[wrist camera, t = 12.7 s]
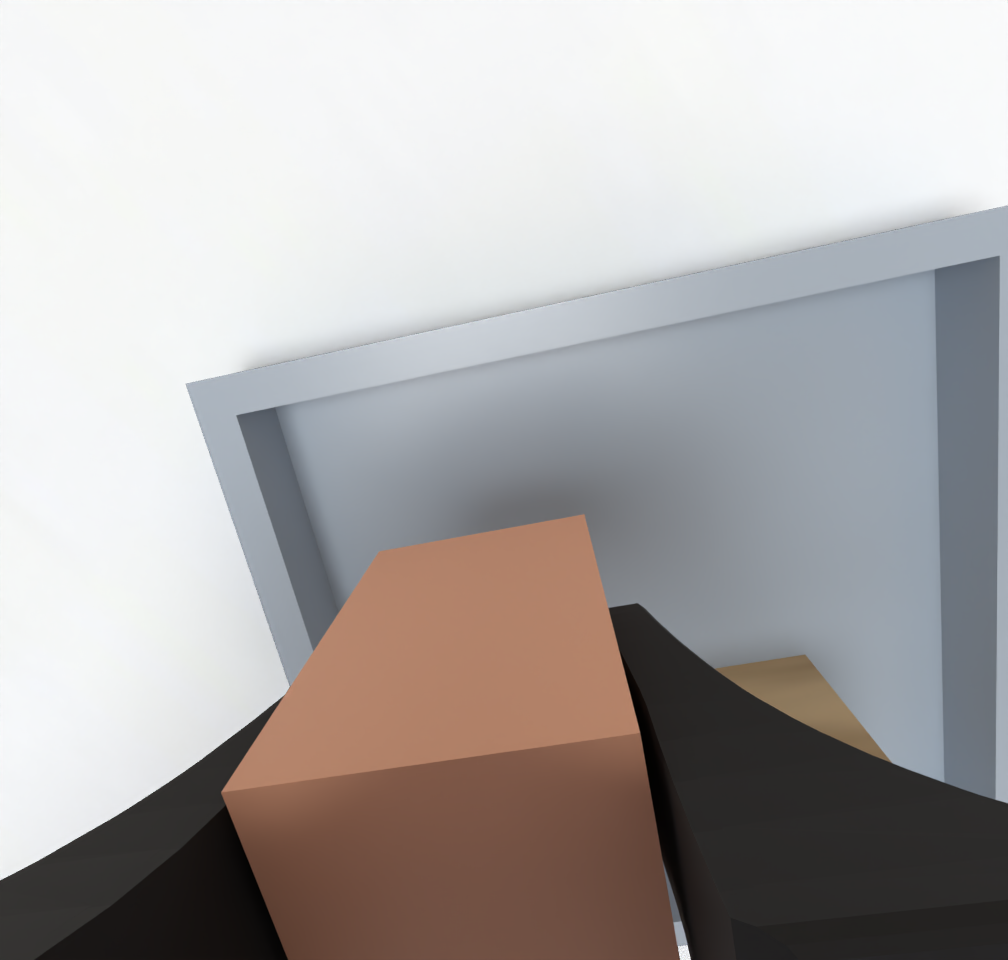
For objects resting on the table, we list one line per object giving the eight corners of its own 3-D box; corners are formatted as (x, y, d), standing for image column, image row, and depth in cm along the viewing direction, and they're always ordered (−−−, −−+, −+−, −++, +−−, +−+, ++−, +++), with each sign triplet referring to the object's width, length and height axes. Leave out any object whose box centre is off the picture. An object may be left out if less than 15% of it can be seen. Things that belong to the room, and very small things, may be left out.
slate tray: (960, 825, 21) (1030, 909, 18) (408, 891, 23) (389, 976, 20) (954, 218, 16) (1050, 195, 13) (242, 372, 18) (185, 383, 15)
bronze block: (815, 761, 19) (935, 952, 13) (691, 778, 20) (756, 971, 14) (805, 654, 18) (931, 811, 12) (674, 674, 19) (738, 835, 13)
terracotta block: (617, 697, 12) (695, 1049, 6) (428, 725, 12) (336, 1082, 7) (583, 514, 11) (640, 733, 5) (379, 551, 11) (220, 792, 6)
